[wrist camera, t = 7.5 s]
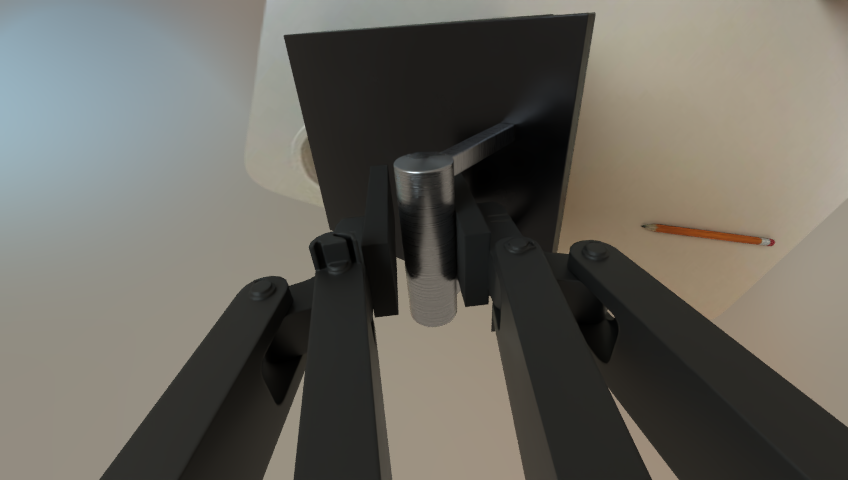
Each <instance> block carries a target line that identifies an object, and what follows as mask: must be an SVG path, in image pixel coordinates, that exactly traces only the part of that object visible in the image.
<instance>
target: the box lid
mask: <svg viewBox="0 0 848 480" xmlns="http://www.w3.org/2000/svg"><path fill="white" fill-rule="evenodd" d="M594 21H595V12H592V13H578V14H565V15H551V16H537V17H524V18H510V19H496V20H482V21H469V22H455V23H441V24H427V25H414V26H400V27H386V28H373V29H359V30H345V31H331V32H318V33H304V34H291V35H284V39H285V43H286V48H287V52H288V56H289V60H290V64H291V69H292V73H293V77H294V81H295V85H296V89H297V94H298V98H299V102H300V106H301V110H302V115H303V119H304V123H305V127H306V131H307V136H308V140H309V144H310V148H311V152H312V156H313V161H314V165H315V169H316V173H317V177H318V182H319V186H320V190H321V194H322V198H323V203H324V207H325V211H326V215H327V219H328V223H329V227H330V230H332V231H335V227H336V225H337V224H338V223H339V222H340V221H341V220H342V219H343V218H351V217H361V216H365V208H366V199H367V191H368V183H369V175H370V166H378V165H388V171H389V178H390V186H391V194H392V201H393V209H394V216H395V236H396V257H397V258H400V259H402V260H404V261H405V269H406V277H407V285H408V295H409V302H410V312H411V316H412V317H413V319H414V320H415V321H416V322H417V323H419V324H421V325H424V326H428V327H437V326H442V325H445V324H447V323H449V322H450V321H452V320H453V318H454V317H455V315H456V313H457V294H458V293H459V292H460V291H461V289H460V286H459V282H458V278H457V275H456V235H455V188H454V176H456V175H458V174H459V173H462V175H463V177H464V179H465V181H466V183H467V185H468V187H469V189H470V191H471V193H472V195H473V197H474V199H475V201H476V203H485V202H496V203H498V204H500V205H502V206H503V207H504V208H505V209H506V211H507V212H508V215H509V216H510V217H511V219H512V221H513V222H514V223H515V225H516V226H517V228H518V230H519V231H520V233H521V234H522V236H524V237H528V238H531V239H533V240H535V241H536V242H537V243H538V244H539V245H540V247H541V249H542V251H545V252H551V253H557V250H558V243H559V237H560V231H561V225H562V219H563V212H564V206H565V200H566V194H567V188H568V182H569V175H570V169H571V163H572V157H573V151H574V144H575V138H576V132H577V126H578V120H579V113H580V107H581V101H582V95H583V89H584V83H585V76H586V70H587V64H588V58H589V52H590V45H591V39H592V33H593V27H594ZM489 296H490V293H489Z"/></svg>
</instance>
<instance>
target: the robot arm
mask: <svg viewBox="0 0 848 480" xmlns="http://www.w3.org/2000/svg"><path fill="white" fill-rule="evenodd" d="M454 188H455V235H456V275H457V278H458V282H459V286H460V289H461V293H462V296H463V300H464V303H465V307H469V306H477V305H485V304H488V302H489V293H490V296H491V298H492V301H493V305H492V329H491V330H492V331H496V336H497V340H498V346H499V351H500V356H501V361H502V365H503V370H504V375H505V380H506V385H507V390H508V395H509V400H510V405H511V410H512V415H513V420H514V425H515V430H516V435H517V440H518V444H519V450H520V455H521V459H522V465H523V470H524V474H525V479H526V480H652V479H651V477H650V475H649V472H648V470H647V468H646V466H645V464H644V462H643V460H642V458H641V456H640V454H639V452H638V449H637V447H636V445H635V443H634V441H633V439H632V437H631V435H630V433H629V431H628V429H627V427H626V425H625V422H624V420H623V418H622V416H621V414H620V412H619V410H618V408H617V406H616V403H615V401H614V399H613V397H612V395H611V393H610V391H609V389H610V390H611V392H612V393H613V394H614V396H615V397H616V398H617V400H618V401H619V402H620V403H621V405H622V406H623V407H624V409H625V410H626V411H627V413H628V414H629V415H630V416H631V418H632V419H633V420H634V422H635V423H636V424H637V426H638V427H639V428H640V430H641V431H642V432H643V433H644V435H645V436H646V437H647V439H648V440H649V441H650V443H651V444H652V445H653V446H654V448H655V449H656V450H657V452H658V453H659V454H660V456H661V457H662V458H663V460H664V461H665V462H666V463H667V465H668V466H669V467H670V469H671V470H672V471H673V473H674V474H675V475H676V476H677V478H678V479H679V480H848V427H847V426H845V425H844V424H843V423H841V422H840V421H839V420H838V419H836V418H835V417H834V416H832V415H831V414H830V413H828V412H827V411H826V410H825V409H823V408H822V407H821V406H819V405H818V404H817V403H816V402H814V401H813V400H812V399H810V398H809V397H808V396H807V395H805V394H804V393H803V392H801V391H800V390H799V389H797V388H796V387H795V386H793V385H792V384H791V383H790V382H788V381H787V380H786V379H785V378H783V377H782V376H781V375H779V374H778V373H777V372H775V371H774V370H773V369H771V368H770V367H769V366H768V365H766V364H765V363H764V362H762V361H761V360H760V359H759V358H757V357H756V356H755V355H753V354H752V353H751V352H750V351H748V350H747V349H746V348H744V347H743V346H742V345H740V344H739V343H738V342H737V341H735V340H734V339H733V338H731V337H730V336H729V335H728V334H726V333H725V332H724V331H722V330H721V329H720V328H718V327H717V326H716V325H715V324H713V323H712V322H711V321H709V320H708V319H707V318H706V317H704V316H703V315H702V314H700V313H699V312H698V311H696V310H695V309H694V308H693V307H691V306H690V305H689V304H687V303H686V302H685V301H684V300H682V299H681V298H680V297H678V296H677V295H676V294H674V293H673V292H672V291H671V290H669V289H668V288H667V287H665V286H664V285H663V284H662V283H660V282H659V281H658V280H656V279H655V278H654V277H652V276H651V275H650V274H649V273H647V272H646V271H645V270H643V269H642V268H641V267H640V266H638V265H637V264H636V263H634V262H633V261H632V260H630V259H629V258H628V257H627V256H625V255H624V254H623V253H621V252H620V251H619V250H618V249H616V248H614V247H613V246H611V245H609V244H606V243H603V242H601V241H596V240H595V241H594V240H585V241H579V242H576V243H574V244H573V245H572V246H571V247H570V252H569V254H562V253H551V252H545V251H542V249H541V247H540V245H539V244H538V243H537V242H536V241H535V240H533V239H531V238H528V237H524V236H522V234H521V233H520V231H519V230H518V228H517V226H516V225H515V223H514V222H513V221H512V219H511V217H510V216H509V215H508V212H507V211H506V209H505V208H504V207H503V206H502V205H500V204H498V203H496V202H485V203H476V201H475V199H474V197H473V195H472V193H471V191H470V189H469V187H468V185H467V183H466V181H465V179H464V177H463V175H462V173H459V174H458V175H456V176H454ZM309 250H310V253H311V256H312V260H313V263H314V267H315V270H316V273H315V276H314V277H312V278H311V279H309V280H306V281H303V282H300V283H297V284H294V285H291V286H288V283H287V281H286V280H285V279H284V278H282V277H278V276H269V277H263V278H260V279H257V280H254V281H253V282H251V283H249V284H248V285H246V286H245V287H244V288H243V289H242V290H241V291H240V292H239V293H238V294H237V295H236V297H235V298H234V300H233V301H232V302H231V304H230V305H229V306H228V308H227V309H226V311H225V312H224V313H223V314H222V316H221V317H220V318H219V320H218V321H217V322H216V324H215V325H214V326H213V328H212V329H211V330H210V332H209V333H208V335H207V336H206V337H205V339H204V340H203V341H202V342H201V344H200V346H199V347H198V348H197V349H196V351H195V352H194V353H193V355H192V356H191V357H190V359H189V360H188V361H187V363H186V364H185V365H184V367H183V368H182V369H181V371H180V372H179V373H178V375H177V376H176V377H175V379H174V380H173V381H172V383H171V384H170V385H169V387H168V388H167V390H166V391H165V392H164V394H163V395H162V396H161V398H160V399H159V400H158V402H157V403H156V404H155V406H154V407H153V408H152V410H151V411H150V412H149V414H148V415H147V417H146V418H145V419H144V421H143V422H142V423H141V424H140V426H139V427H138V429H137V430H136V431H135V433H134V434H133V435H132V437H131V438H130V440H129V441H128V442H127V443H126V445H125V446H124V447H123V449H122V450H121V451H120V453H119V454H118V455H117V457H116V458H115V460H114V461H113V462H112V463H111V465H110V466H109V468H108V469H107V470H106V471H105V473H104V474H103V476H102V477H101V478H100V480H263V477H264V474H265V472H266V469H267V466H268V464H269V461H270V459H271V456H272V454H273V451H274V449H275V446H276V444H277V441H278V438H279V436H280V433H281V431H282V428H283V425H284V423H285V420H286V417H287V415H288V413H289V410H290V407H291V405H292V402H293V399H294V397H295V394H296V392H297V389H298V387H299V384H300V382H301V379H302V377H303V374H304V371H305V377H304V387H303V396H302V406H301V416H300V425H299V435H298V443H297V453H296V462H295V472H294V480H392V474H391V465H390V456H389V447H388V439H387V430H386V421H385V413H384V404H383V394H382V386H381V377H380V368H379V359H378V350H377V342H376V333H375V326H374V321H373V310H374V315H375V317H382V316H391V315H398V290H397V289H398V288H397V266H396V265H397V263H396V236H395V216H394V209H393V201H392V194H391V186H390V178H389V171H388V165H378V166H370V175H369V183H368V191H367V199H366V208H365V216H361V217H351V218H343V219H342V220H341V221H340V222H339V223H338V224H337V225H336V227H335V231H333V232H329V233H325V234H323V235H321V236H318V237H317V238H315V239H314V240H313V241H312V242H311V243H310V245H309ZM607 309H608V310H609V311H611V312H612V314H613V315H614V317H615V318H613V317H612V316H611V315H610V314H609V313H608V312H607ZM608 388H609V389H608Z"/></svg>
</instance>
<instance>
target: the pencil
mask: <svg viewBox="0 0 848 480" xmlns="http://www.w3.org/2000/svg"><path fill="white" fill-rule="evenodd" d="M642 227H644V228H647V229H649V230H652V231H655V232H663V233H671V234H679V235H687V236H694V237H702V238H710V239H718V240H726V241H734V242H742V243H750V244H758V245H766V246H773V245H774V243H775V241H774V240H773V239H767V238H759V237H751V236H744V235H736V234H728V233H721V232H713V231H705V230H697V229H690V228H682V227H674V226H667V225H659V224H651V225H643V226H642Z"/></svg>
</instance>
